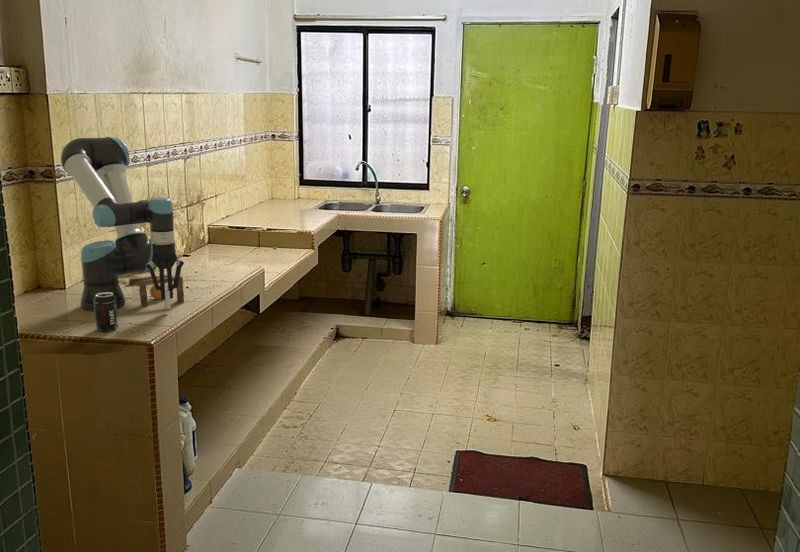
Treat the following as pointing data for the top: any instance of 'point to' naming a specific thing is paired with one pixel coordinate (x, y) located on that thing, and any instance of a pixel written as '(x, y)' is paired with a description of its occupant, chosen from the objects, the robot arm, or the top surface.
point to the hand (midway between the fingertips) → (167, 307)
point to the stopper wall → (136, 280)
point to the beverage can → (105, 311)
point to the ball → (155, 292)
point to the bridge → (148, 281)
